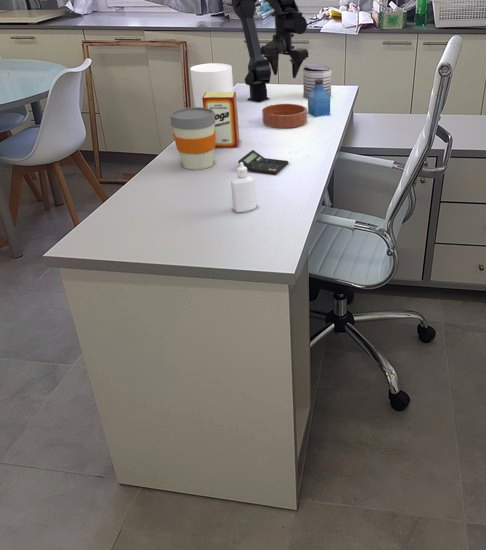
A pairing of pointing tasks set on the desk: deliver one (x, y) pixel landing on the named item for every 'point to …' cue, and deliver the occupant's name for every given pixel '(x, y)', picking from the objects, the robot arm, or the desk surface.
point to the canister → (210, 80)
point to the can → (313, 74)
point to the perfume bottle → (318, 100)
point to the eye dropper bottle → (243, 190)
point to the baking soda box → (223, 117)
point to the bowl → (284, 115)
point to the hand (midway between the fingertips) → (284, 76)
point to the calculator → (262, 163)
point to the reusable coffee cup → (194, 136)
